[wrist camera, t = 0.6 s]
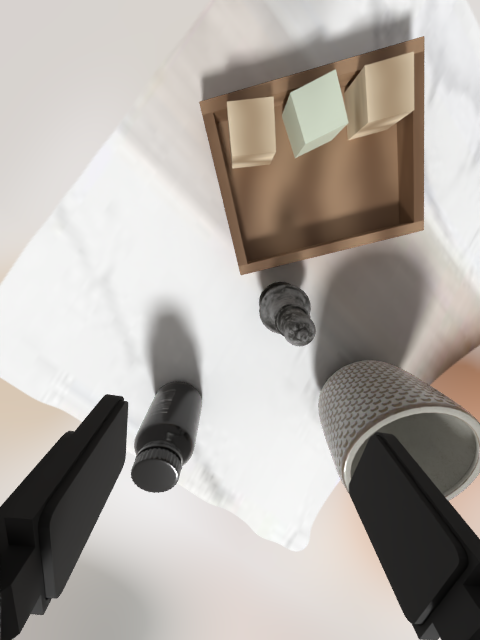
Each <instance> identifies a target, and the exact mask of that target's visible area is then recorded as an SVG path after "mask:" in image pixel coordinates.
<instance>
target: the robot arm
mask: <svg viewBox="0 0 480 640" xmlns="http://www.w3.org/2000/svg"><path fill="white" fill-rule="evenodd" d="M127 418H128V402H127V401H124V398H123V397H122V396H115V395H108V394H107V395H105V396H104V397H103V398H102V399H101V400H100V401H99V403H98V404H97V405H96V406H95V408H94V409H93V410H92V411H91V412H90V414H89V415H88V416H87V417H86V418H85V420H84V421H83V422H82V423H81V424H80V426H79V427H78V428H77V429H76V430H75V432H74V431H68V432H66V433H65V434H64V435H63V436H62V437H61V438H60V439H59V440H58V442H57V443H56V444H55V445H54V446H53V447H52V448H51V450H50V451H49V452H48V453H47V454H46V455H45V456H44V457H43V459H42V460H41V461H40V462H39V463H38V464H37V465H36V467H35V468H34V469H33V470H32V471H31V472H30V474H29V475H28V476H27V477H26V478H25V479H24V480H23V482H22V483H21V484H20V485H19V486H18V487H17V488H16V489H15V491H14V492H13V493H12V494H11V495H10V496H9V498H8V499H7V500H6V501H5V502H4V503H3V504H2V506H1V507H0V640H14V638H15V637H16V636H17V635H18V634H20V632H21V630H22V628H23V627H24V625H25V623H26V621H27V619H28V617H29V616H30V614H37V615H43V614H44V613H45V611H46V609H47V607H48V605H49V603H50V601H51V599H52V598H58V597H59V596H60V594H61V593H62V591H63V589H64V587H65V585H66V583H67V581H68V579H69V577H70V575H71V573H72V571H73V569H74V567H75V565H76V563H77V561H78V558H79V556H80V554H81V552H82V550H83V548H84V546H85V544H86V542H87V540H88V538H89V536H90V534H91V532H92V530H93V528H94V526H95V524H96V522H97V520H98V517H99V515H100V513H101V511H102V509H103V507H104V505H105V503H106V501H107V499H108V497H109V495H110V492H111V491H112V489H113V487H114V484H115V482H116V480H117V478H118V476H119V474H120V472H121V470H122V468H123V465H124V462H125V456H126V437H127ZM349 494H350V497H351V499H352V501H353V503H354V505H355V508H356V510H357V512H358V514H359V516H360V519H361V521H362V523H363V525H364V527H365V530H366V532H367V534H368V536H369V538H370V540H371V543H372V545H373V547H374V549H375V551H376V554H377V556H378V558H379V560H380V563H381V565H382V567H383V569H384V571H385V574H386V576H387V578H388V580H389V582H390V584H391V587H392V589H393V591H394V593H395V595H396V597H397V600H398V602H399V604H400V607H401V609H402V611H403V613H404V615H405V617H406V618H407V620H408V621H409V622H410V623H412V625H413V627H414V629H415V631H416V633H417V636H418V638H419V639H420V640H421V639H422V640H438V639H439V637H440V638H441V640H480V539H479V538H478V537H477V535H476V534H475V533H474V532H473V530H472V529H471V528H470V527H469V526H468V525H467V523H466V522H465V521H464V520H463V519H462V517H461V516H460V515H459V514H458V512H457V511H456V510H455V509H454V507H453V506H452V505H451V504H450V502H449V501H448V500H447V499H446V498H445V496H444V495H443V494H442V493H441V492H440V490H439V489H438V488H437V487H436V485H435V484H434V483H433V482H432V481H431V479H430V478H429V477H428V476H427V474H426V473H425V472H424V471H423V470H422V468H421V467H420V466H419V465H418V463H417V462H416V461H415V460H414V459H413V457H412V456H411V455H410V454H409V453H408V451H407V450H406V449H405V448H404V446H403V445H402V444H401V443H400V442H399V440H398V439H397V438H396V437H395V436H394V435H393V434H388V433H381V432H376V433H374V435H372V436H371V437H370V438H369V440H368V443H367V445H366V447H365V449H364V452H363V454H362V456H361V458H360V461H359V463H358V465H357V467H356V469H355V472H354V474H353V476H352V478H351V481H350V483H349Z"/></svg>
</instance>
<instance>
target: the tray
mask: <svg viewBox="0 0 480 640" xmlns="http://www.w3.org/2000/svg"><path fill="white" fill-rule="evenodd" d="M410 52H414V111H412V112H411V113H409V114H408V115H407V116H405V117H404V118H402V119H401V120H400V121H398V122H397V123H395V124H394V125H393V126H391V127H390V128H389V129H387V130H384V131H380V132H377V133H373V134H369V135H366V136H362V137H358V138H355V139H351V140H348V135H347V125H346V126H345V127H344V128H343V129H342V130H341V131H340V132H339V133H338V134H337V135H336V136H335V137H334V138H333V139H332V140H331V141H329V142H327V143H325V144H323V145H321V146H319V147H317V148H315V149H313V150H311V151H309V152H307V153H305V154H303V155H301V156H299V157H297V158H295V157H294V154H293V150H292V147H291V144H290V141H289V138H288V134H287V131H286V128H285V125H284V122H283V118H282V114H283V111H284V108H285V106H286V103H287V100H288V98H289V95H290V93H291V92H293V91H295V90H297V89H299V88H301V87H303V86H304V85H306V84H308V83H310V82H312V81H314V80H316V79H318V78H320V77H322V76H324V75H326V74H327V73H329V72H331V71H333V70H335V69H336V72H337V76H338V81H339V85H340V89H341V93H342V97H343V101H344V106H345V98H344V93H345V92H346V90H347V89H348V87H349V86H350V85H351V83H352V82H353V81H354V79H355V78H356V77H357V75H358V74H359V73H360V71H361V70H362V69H363V67H364V66H365V65H369V64H372V63H376V62H379V61H383V60H386V59H389V58H393V57H396V56H400V55H403V54H407V53H410ZM273 96H274V116H275V139H276V153H275V155H274V157H273V159H272V161H271V163H270V165H260V166H251V167H242V168H232V159H231V149H230V138H229V127H228V113H227V102H228V101H237V100H246V99H255V98H264V97H273ZM199 103H200V107H201V111H202V115H203V120H204V124H205V128H206V132H207V136H208V141H209V145H210V149H211V153H212V157H213V161H214V166H215V170H216V174H217V178H218V182H219V186H220V191H221V195H222V199H223V203H224V207H225V212H226V216H227V220H228V224H229V228H230V232H231V237H232V241H233V245H234V249H235V253H236V257H237V262H238V266H239V270H240V274H241V275H244V274H248V273H252V272H256V271H260V270H264V269H268V268H272V267H276V266H280V265H284V264H288V263H293V262H297V261H301V260H305V259H309V258H313V257H317V256H321V255H325V254H329V253H333V252H337V251H341V250H345V249H349V248H353V247H357V246H362V245H366V244H370V243H374V242H378V241H382V240H386V239H390V238H394V237H398V236H402V235H406V234H410V233H414V232H418V231H422V230H424V36H423V37H420V38H416V39H413V40H409V41H406V42H402V43H399V44H396V45H392V46H389V47H385V48H382V49H378V50H375V51H372V52H368V53H365V54H361V55H358V56H354V57H351V58H348V59H344V60H341V61H337V62H334V63H331V64H327V65H324V66H320V67H317V68H313V69H310V70H307V71H303V72H300V73H296V74H293V75H289V76H286V77H283V78H279V79H276V80H272V81H269V82H266V83H262V84H259V85H255V86H252V87H248V88H245V89H242V90H238V91H235V92H231V93H228V94H224V95H221V96H218V97H214V98H211V99H207V100H204V101H200V102H199Z"/></svg>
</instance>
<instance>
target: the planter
mask: <svg viewBox="0 0 480 640" xmlns="http://www.w3.org/2000/svg"><path fill="white" fill-rule="evenodd" d="M318 407H319V417H320V421H321V425H322V429H323V432H324V435H325V438H326V441H327V444H328V447H329V450H330V453H331V455H332V458H333V461H334V464H335V466H336V469H337V472H338V474H339V477H340V479H341V481H342V482H343V484H344V486H345V488H346V490H347V491H348V493H349V483H350V481H351V478H352V476H353V474H354V472H355V469H356V467H357V465H358V463H359V461H360V458H361V456H362V454H363V452H364V449H365V447H366V445H367V443H368V440H369V438H370V437H371V436H372V435H374V433H376V432H381V433H388V434H393V435H394V436H395V437H396V438H397V439H398V440H399V442H400V443H401V444H402V445H403V446H404V448H405V449H406V450H407V451H408V453H409V454H410V455H411V456H412V457H413V459H414V460H415V461H416V462H417V463H418V465H419V466H420V467H421V468H422V470H423V471H424V472H425V473H426V474H427V476H428V477H429V478H430V479H431V481H432V482H433V483H434V484H435V485H436V487H437V488H438V489H439V490H440V492H441V493H442V494H443V495H444V496H445V498H446V499H447V500H448V501H449V500H450V499H452V498H454V497H455V496H457V495H458V494H460V493H461V492H462V491H464V489H466V488H467V487H468V486H469V485H470V484H471V483H472V482H473V481H474V479H475V478H476V477H477V476H478V474H479V473H480V423H479V422H478V421H477V420H476V419H475V417H473V416H472V415H471V414H470V413H469V412H468V411H467V410H465V409H464V408H463V407H461V406H460V405H459V404H457V403H456V402H454V401H453V400H451V399H450V398H448V397H447V396H445V395H444V394H442V393H441V392H439V391H438V390H436V389H434V388H433V387H431V386H430V385H428V384H427V383H425V382H424V381H422V380H420V379H419V378H417V377H415V376H414V375H412V374H410V373H408V372H407V371H405V370H403V369H401V368H399V367H397V366H395V365H392V364H389V363H386V362H382V361H375V360H364V361H358V362H354V363H351V364H348V365H346V366H344V367H342V368H340V369H339V370H337V371H336V372H335V373H334V374H333V375H332V376H331V377H330V378H329V379H328V380H327V381H326V383H325V384H324V386H323V388H322V390H321V393H320V396H319V403H318Z"/></svg>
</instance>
